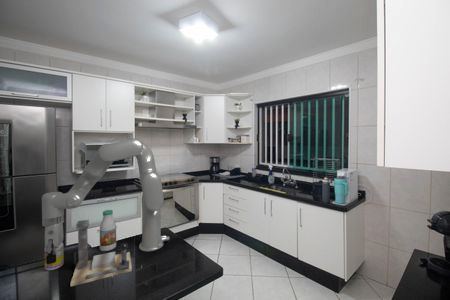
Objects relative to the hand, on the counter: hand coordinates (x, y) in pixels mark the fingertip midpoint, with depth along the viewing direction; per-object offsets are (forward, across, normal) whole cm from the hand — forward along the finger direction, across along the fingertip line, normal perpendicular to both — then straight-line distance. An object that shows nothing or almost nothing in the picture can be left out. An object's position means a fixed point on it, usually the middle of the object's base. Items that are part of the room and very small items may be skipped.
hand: (54, 257), depth 93 cm
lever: (+2, -18, -28) cm, 33 cm away
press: (+4, -12, -20) cm, 23 cm away
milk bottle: (+4, +8, -21) cm, 23 cm away
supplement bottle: (+4, 0, 0) cm, 4 cm away
